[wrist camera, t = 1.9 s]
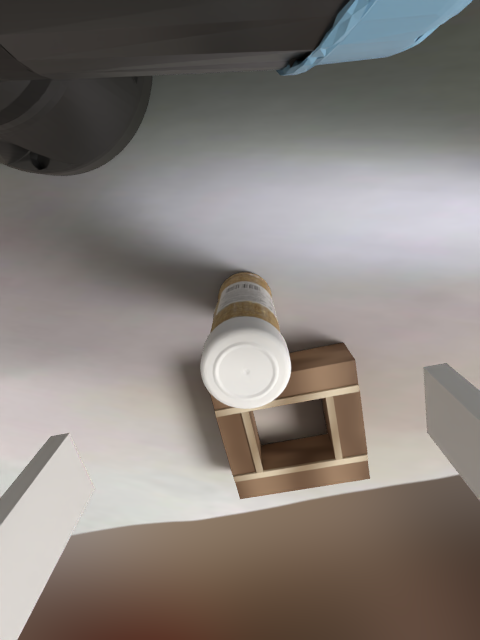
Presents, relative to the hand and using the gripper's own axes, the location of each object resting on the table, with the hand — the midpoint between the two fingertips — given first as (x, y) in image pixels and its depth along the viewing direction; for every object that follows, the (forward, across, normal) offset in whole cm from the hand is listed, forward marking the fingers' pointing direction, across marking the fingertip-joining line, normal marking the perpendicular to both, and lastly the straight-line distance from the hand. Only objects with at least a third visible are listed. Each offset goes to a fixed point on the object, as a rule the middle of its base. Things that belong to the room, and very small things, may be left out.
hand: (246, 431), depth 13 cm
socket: (+18, +2, -12) cm, 21 cm away
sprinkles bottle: (+18, 0, 0) cm, 18 cm away
